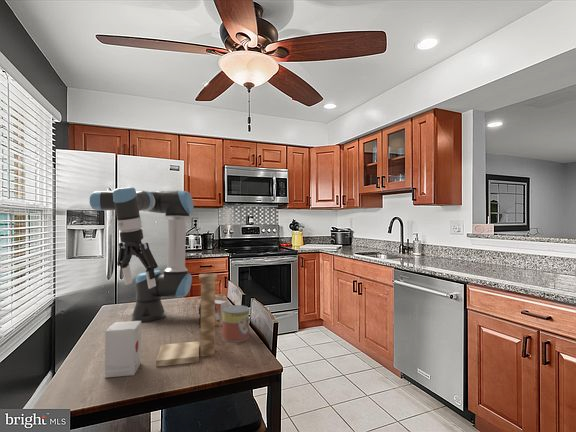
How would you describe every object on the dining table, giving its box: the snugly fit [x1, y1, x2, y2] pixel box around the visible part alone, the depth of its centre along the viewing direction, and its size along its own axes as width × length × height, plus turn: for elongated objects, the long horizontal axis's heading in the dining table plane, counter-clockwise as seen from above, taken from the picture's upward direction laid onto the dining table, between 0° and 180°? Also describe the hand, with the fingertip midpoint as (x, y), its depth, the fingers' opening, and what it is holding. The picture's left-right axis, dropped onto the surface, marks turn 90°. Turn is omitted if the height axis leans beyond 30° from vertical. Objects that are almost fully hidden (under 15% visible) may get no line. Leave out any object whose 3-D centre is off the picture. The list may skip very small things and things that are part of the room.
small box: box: [215, 299, 228, 327], centre depth 151 cm, size 8×6×10 cm
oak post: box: [198, 272, 218, 357], centre depth 118 cm, size 6×6×29 cm
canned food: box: [221, 304, 250, 343], centre depth 134 cm, size 11×11×12 cm
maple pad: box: [155, 340, 200, 368], centre depth 116 cm, size 14×14×2 cm
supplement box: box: [104, 320, 142, 378], centre depth 104 cm, size 9×9×15 cm
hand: (140, 285), depth 118 cm, fingers open, 13 cm apart
